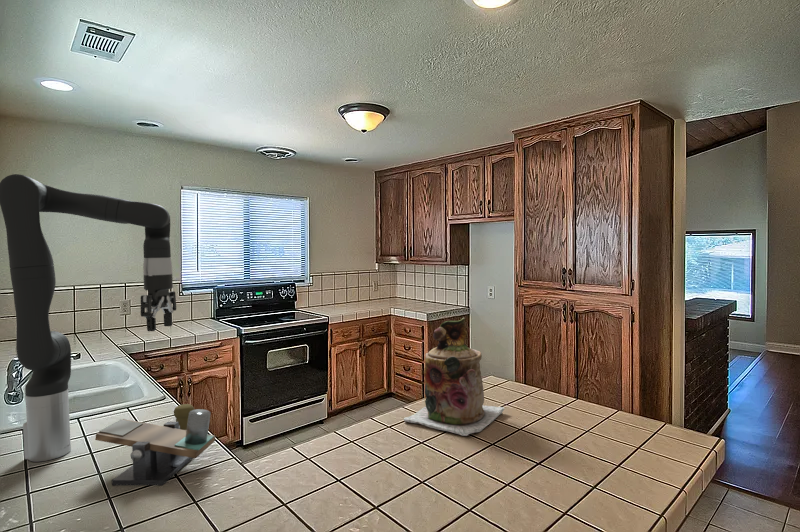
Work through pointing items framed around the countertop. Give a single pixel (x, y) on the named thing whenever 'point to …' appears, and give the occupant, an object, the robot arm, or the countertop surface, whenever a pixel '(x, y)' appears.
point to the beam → (152, 437)
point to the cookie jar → (454, 385)
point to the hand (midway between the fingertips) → (160, 328)
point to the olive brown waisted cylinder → (183, 415)
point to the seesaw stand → (151, 465)
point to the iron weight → (197, 426)
